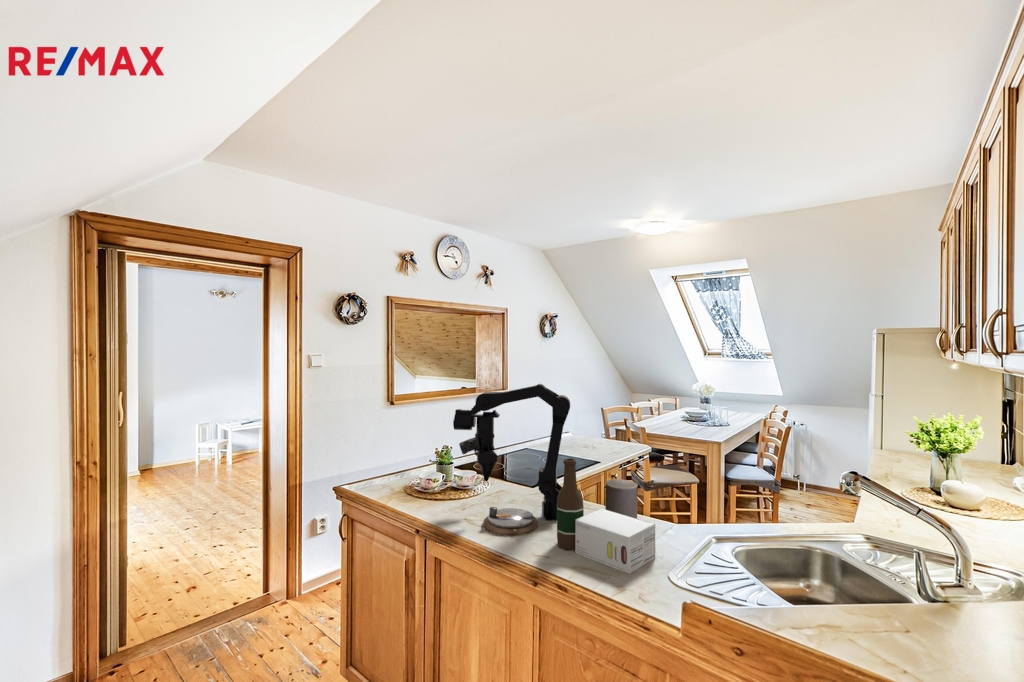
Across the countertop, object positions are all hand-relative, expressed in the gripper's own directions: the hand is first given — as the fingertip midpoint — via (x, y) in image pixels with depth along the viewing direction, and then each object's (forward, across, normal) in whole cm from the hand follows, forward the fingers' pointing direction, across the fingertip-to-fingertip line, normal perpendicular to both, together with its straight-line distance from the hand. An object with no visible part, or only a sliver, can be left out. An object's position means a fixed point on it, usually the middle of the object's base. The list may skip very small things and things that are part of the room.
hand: (484, 477), depth 161 cm
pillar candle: (+12, +19, +40) cm, 46 cm away
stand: (+12, +11, +7) cm, 18 cm away
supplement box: (+12, +37, +31) cm, 50 cm away
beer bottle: (+12, +29, +21) cm, 38 cm away
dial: (+10, +11, +7) cm, 17 cm away
